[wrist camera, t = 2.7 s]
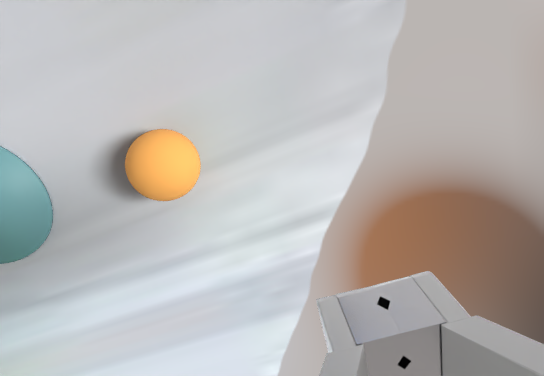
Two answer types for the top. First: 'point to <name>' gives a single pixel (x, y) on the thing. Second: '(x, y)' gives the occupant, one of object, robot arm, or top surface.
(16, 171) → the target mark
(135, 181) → the ball
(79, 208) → the top surface
